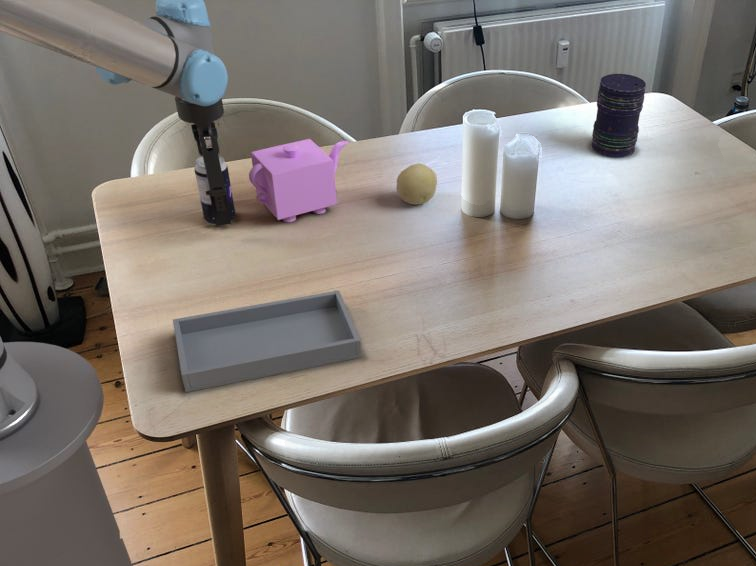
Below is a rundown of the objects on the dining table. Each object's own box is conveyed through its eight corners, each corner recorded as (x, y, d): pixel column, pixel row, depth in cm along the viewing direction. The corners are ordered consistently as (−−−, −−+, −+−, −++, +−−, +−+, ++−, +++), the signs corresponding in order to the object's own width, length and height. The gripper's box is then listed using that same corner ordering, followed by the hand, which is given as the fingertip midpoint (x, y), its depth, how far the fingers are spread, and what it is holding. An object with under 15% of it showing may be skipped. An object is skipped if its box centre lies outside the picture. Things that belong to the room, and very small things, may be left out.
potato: (440, 211, 160) (440, 173, 155) (399, 213, 159) (398, 175, 154) (434, 192, 166) (434, 155, 161) (395, 194, 165) (394, 157, 160)
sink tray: (185, 392, 118) (181, 375, 116) (176, 336, 128) (172, 319, 126) (361, 357, 126) (360, 340, 124) (340, 306, 135) (339, 290, 133)
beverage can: (240, 223, 154) (230, 164, 146) (210, 231, 152) (198, 171, 144) (230, 210, 158) (220, 151, 150) (200, 217, 155) (188, 157, 147)
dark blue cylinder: (585, 152, 183) (594, 86, 173) (596, 135, 190) (605, 70, 180) (630, 161, 180) (641, 94, 171) (639, 143, 187) (650, 78, 178)
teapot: (266, 230, 152) (257, 168, 144) (245, 206, 159) (235, 145, 151) (363, 204, 161) (360, 144, 153) (340, 182, 168) (336, 123, 160)
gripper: (230, 121, 131) (249, 236, 145) (211, 64, 149) (229, 172, 163) (181, 126, 129) (205, 243, 143) (167, 68, 147) (190, 177, 160)
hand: (218, 205), depth 153 cm, fingers open, 13 cm apart
